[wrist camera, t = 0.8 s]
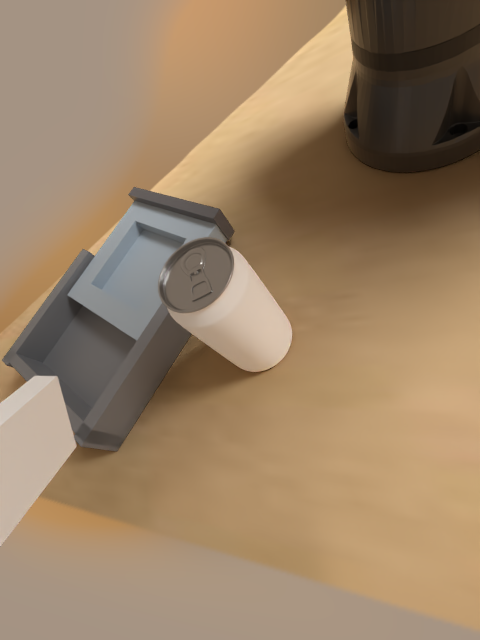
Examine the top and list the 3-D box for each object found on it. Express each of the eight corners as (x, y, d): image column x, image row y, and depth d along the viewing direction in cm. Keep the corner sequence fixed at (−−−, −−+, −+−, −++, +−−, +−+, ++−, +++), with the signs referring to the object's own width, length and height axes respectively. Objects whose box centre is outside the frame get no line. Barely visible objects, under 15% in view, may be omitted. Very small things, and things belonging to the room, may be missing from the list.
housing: (111, 265, 46) (84, 246, 42) (205, 312, 36) (181, 292, 33) (36, 371, 43) (1, 360, 40) (116, 451, 34) (80, 446, 30)
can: (280, 297, 33) (225, 215, 23) (304, 356, 30) (252, 289, 20) (221, 325, 35) (146, 259, 25) (238, 384, 31) (159, 335, 22)
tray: (151, 206, 45) (133, 186, 43) (234, 231, 38) (219, 208, 35) (83, 304, 43) (59, 290, 40) (156, 351, 35) (133, 339, 32)
